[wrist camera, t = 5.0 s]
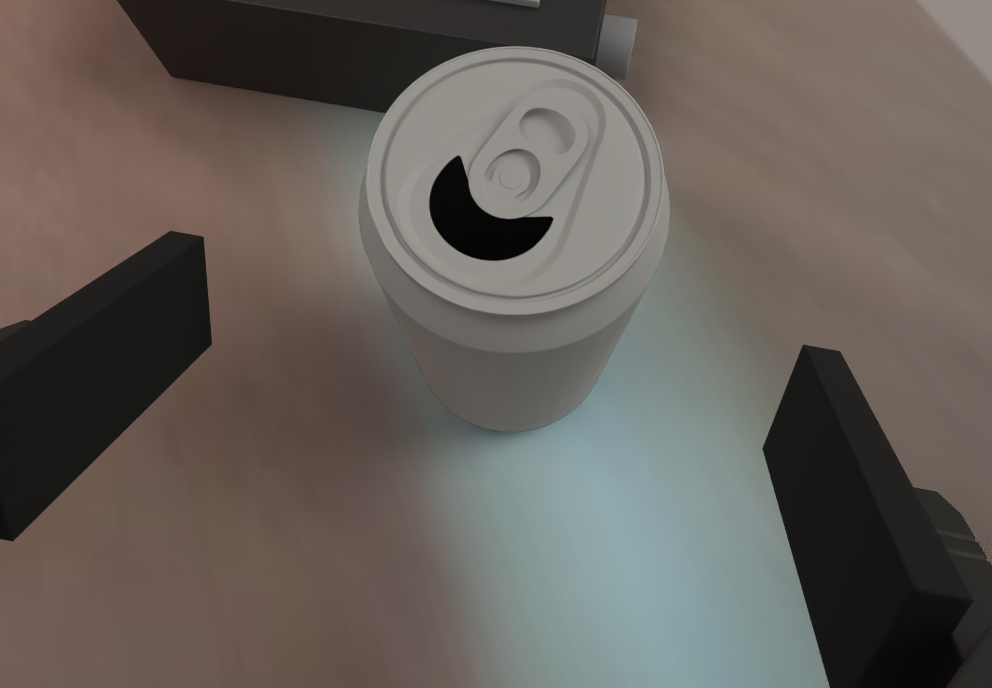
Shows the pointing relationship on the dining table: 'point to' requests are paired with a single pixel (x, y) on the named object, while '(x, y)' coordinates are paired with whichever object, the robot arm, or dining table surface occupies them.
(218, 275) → the dining table surface
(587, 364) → the beverage can
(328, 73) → the cup warmer
